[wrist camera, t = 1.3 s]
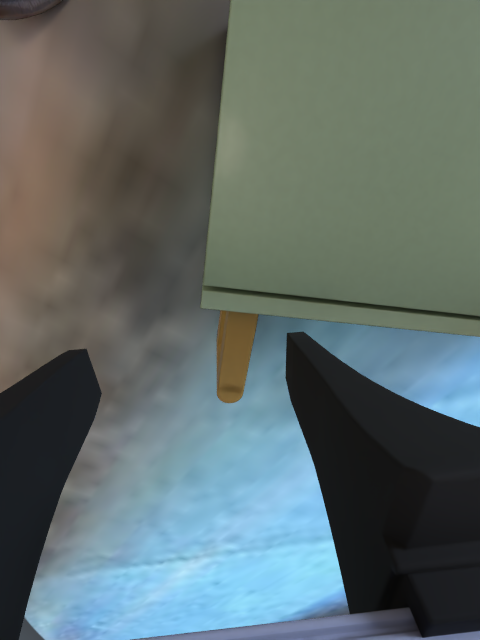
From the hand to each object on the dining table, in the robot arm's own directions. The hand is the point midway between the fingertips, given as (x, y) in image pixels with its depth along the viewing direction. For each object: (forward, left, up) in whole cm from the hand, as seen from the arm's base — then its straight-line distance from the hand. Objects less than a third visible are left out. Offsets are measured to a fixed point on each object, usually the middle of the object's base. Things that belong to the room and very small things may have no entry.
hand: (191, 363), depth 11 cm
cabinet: (-8, -7, -10) cm, 15 cm away
